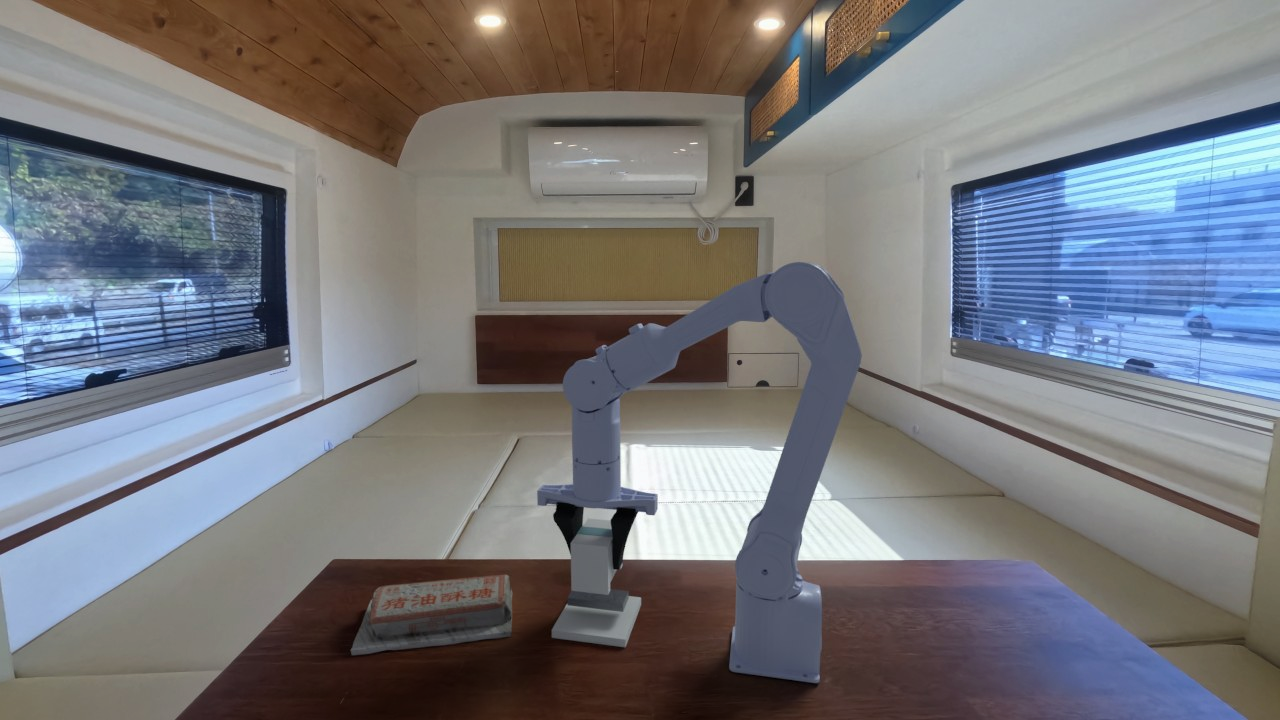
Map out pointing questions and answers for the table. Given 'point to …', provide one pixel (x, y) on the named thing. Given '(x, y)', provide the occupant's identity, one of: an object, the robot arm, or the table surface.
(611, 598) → the dark grey flat block
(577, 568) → the block
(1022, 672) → the table surface
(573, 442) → the robot arm
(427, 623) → the packaged product
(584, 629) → the base
